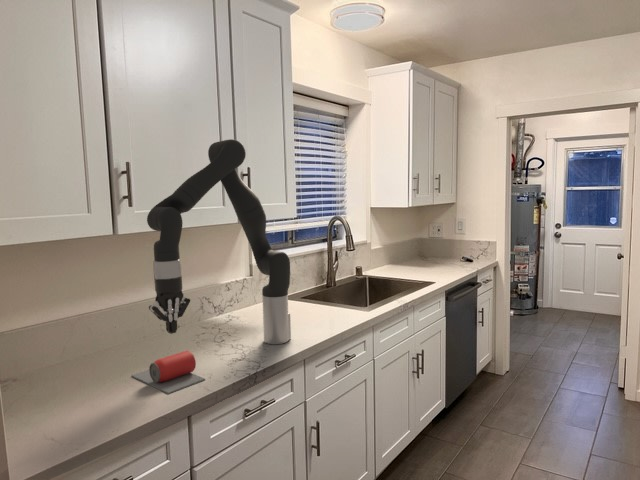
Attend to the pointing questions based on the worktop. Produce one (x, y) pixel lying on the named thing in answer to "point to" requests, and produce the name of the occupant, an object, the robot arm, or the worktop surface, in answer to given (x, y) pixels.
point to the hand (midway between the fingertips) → (172, 332)
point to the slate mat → (169, 381)
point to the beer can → (172, 366)
